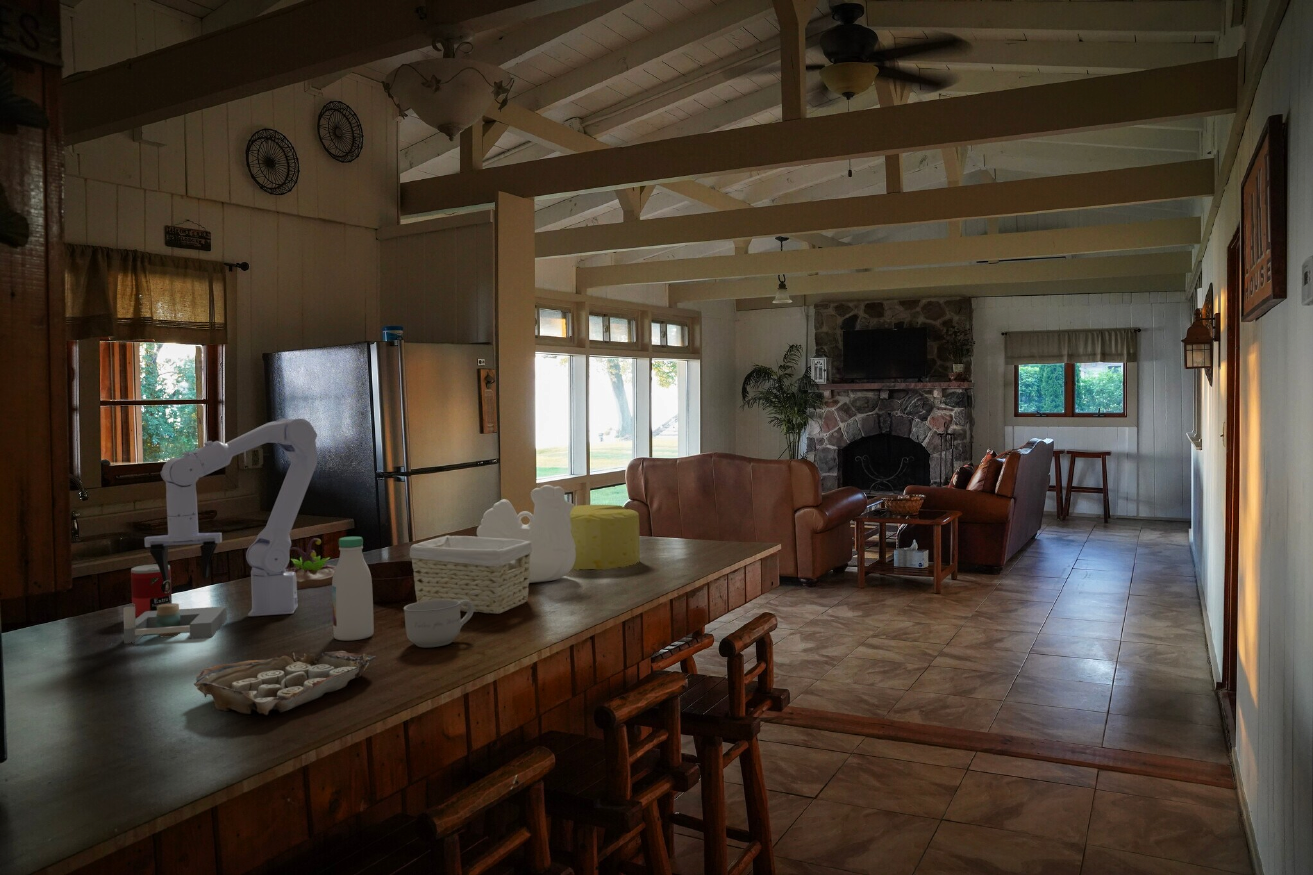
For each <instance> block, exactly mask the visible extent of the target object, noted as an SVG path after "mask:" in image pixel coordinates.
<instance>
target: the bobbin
mask: <svg viewBox="0 0 1313 875" xmlns="http://www.w3.org/2000/svg"><path fill="white" fill-rule="evenodd" d="M179 609H180V604H179V603H176V602H175V603H173V602H172V603H170V604H163V605H159V606H157V614H156V617H157V628H159V627H173V626H181V622H180V611H179ZM178 634H179V635H180V634H181V632H174V633H160V634H157V636H158V637H159V636H171V637H175V636H174V635H176V636H179V635H178Z"/></svg>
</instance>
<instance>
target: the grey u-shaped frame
mask: <svg viewBox="0 0 1313 875" xmlns="http://www.w3.org/2000/svg"><path fill="white" fill-rule="evenodd" d="M179 611H180V622H181V626H173V627H159V628H157V617H156V614H157V611H145V612H144V613H143V614H142V615H140V616H139V617H138V618H136V619H135V607H133V606H132V605H131V606H125V607H123V642H124V643H123V644H135V643H134V642H136V643H137V642H138V641H139V640H140V639H141V638H143V637H144V636H145V635H158V634H160V633H174V632H180V633H185V632H189V638H194V639H204V638H203V637H208V638H213V637H214V635H216V633H217V632H218V631H217V630H219V629H220V628H221V627H222V626H223V625H224V624H225V623H224V622H227V620H228V616H227V615H228V614H227V606H226V605H225V606H209V607H195V608H179ZM222 624H223V625H222ZM216 631H217V632H216ZM142 636H143V637H142ZM131 642H132V643H131Z"/></svg>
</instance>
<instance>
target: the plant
mask: <svg viewBox="0 0 1313 875" xmlns="http://www.w3.org/2000/svg"><path fill="white" fill-rule="evenodd" d="M313 542H314V543H315V544H316V545H319V546H320V545H321V543H322V540H321V539H320V538H319V537H318V538H317V537H316V538H315V537H314V538H312V539H311V540H310V541H309V543H308V545H307V548H306V552H304V551H303V550H302V549H301V548H299V547H292V546H291V547H290V550H289V556H290V554H291V551H294V550H295V551H297V552H298V553H299V554H300V557H299V560H298V559H295V558H290V560H291V561H292V563H293V564H294V565H293V568H292V567H288V566H287V567H286V572H295V573H296V580H297V590H299V589H305V588H319V587H324V586H328V585H330V586H331V585H332V580H333V574H334V571H335V568H336V566H337V565H331V564H325V563H326V562H327V561H329V559H331V557H330V556H329V557H325V558H323V557H322V559H321V555H318V556H317V552H316V551H315V550H314V549H312V544H313Z"/></svg>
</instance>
